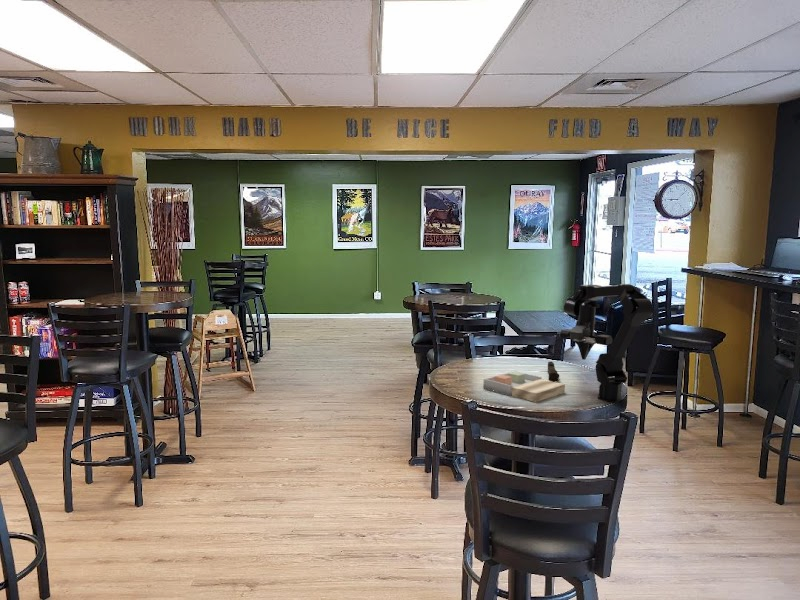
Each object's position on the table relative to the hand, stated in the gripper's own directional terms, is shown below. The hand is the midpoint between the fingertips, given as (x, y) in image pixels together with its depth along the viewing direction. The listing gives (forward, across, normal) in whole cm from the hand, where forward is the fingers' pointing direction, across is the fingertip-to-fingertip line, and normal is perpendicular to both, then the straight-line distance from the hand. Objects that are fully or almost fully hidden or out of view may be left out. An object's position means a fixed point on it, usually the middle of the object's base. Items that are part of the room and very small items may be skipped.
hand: (583, 359), depth 211 cm
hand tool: (+12, -18, +7) cm, 22 cm away
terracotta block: (+6, -18, -25) cm, 32 cm away
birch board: (+11, -6, -20) cm, 24 cm away
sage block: (+6, -18, -17) cm, 25 cm away
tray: (+11, -17, -20) cm, 29 cm away
